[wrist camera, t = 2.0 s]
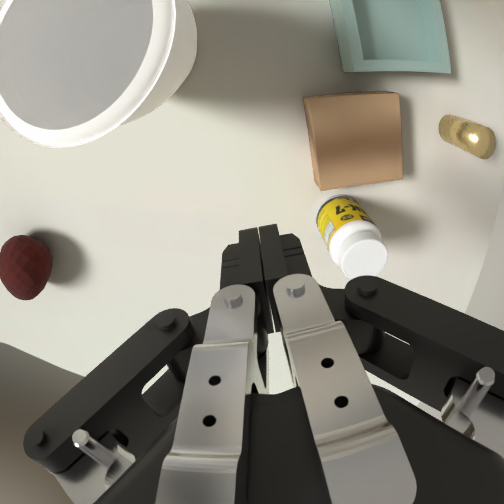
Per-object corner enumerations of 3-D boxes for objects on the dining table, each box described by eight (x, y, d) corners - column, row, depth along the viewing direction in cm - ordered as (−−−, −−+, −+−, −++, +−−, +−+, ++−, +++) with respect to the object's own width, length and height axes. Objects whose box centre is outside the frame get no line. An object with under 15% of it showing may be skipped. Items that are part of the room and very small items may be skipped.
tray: (322, -27, 18) (330, -37, 16) (418, -19, 17) (433, -24, 15) (343, 72, 23) (353, 72, 21) (435, 71, 22) (451, 73, 20)
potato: (3, 245, 31) (-21, 272, 25) (33, 213, 29) (5, 239, 24) (38, 286, 34) (17, 317, 29) (71, 261, 32) (49, 293, 27)
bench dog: (438, 114, 25) (474, 127, 20) (459, 114, 25) (496, 127, 20) (439, 142, 26) (473, 159, 21) (459, 141, 26) (495, 158, 21)
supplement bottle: (365, 197, 30) (401, 239, 22) (352, 238, 32) (381, 287, 25) (320, 190, 29) (347, 231, 22) (309, 233, 32) (330, 283, 24)
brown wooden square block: (302, 97, 25) (309, 99, 22) (384, 90, 24) (398, 93, 22) (313, 179, 29) (321, 191, 26) (389, 169, 28) (402, 179, 26)
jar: (233, 66, 23) (226, 50, 10) (135, 131, 25) (48, 191, 13) (169, -21, 18) (106, -95, 5) (77, 49, 20) (-39, 51, 8)
